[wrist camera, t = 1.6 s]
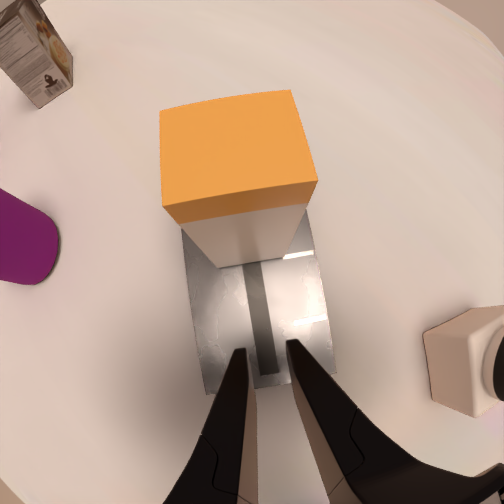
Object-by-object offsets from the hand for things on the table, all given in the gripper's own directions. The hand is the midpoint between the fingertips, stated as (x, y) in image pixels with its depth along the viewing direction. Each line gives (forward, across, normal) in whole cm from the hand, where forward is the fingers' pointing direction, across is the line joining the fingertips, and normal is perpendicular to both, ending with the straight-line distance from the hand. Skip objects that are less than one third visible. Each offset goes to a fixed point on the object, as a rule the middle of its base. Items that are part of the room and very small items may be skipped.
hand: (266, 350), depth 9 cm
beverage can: (+17, +22, +3) cm, 28 cm away
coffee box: (+36, +24, -16) cm, 46 cm away
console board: (+14, 0, +5) cm, 15 cm away
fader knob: (+13, 0, +3) cm, 14 cm away
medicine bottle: (+5, -18, +15) cm, 23 cm away
